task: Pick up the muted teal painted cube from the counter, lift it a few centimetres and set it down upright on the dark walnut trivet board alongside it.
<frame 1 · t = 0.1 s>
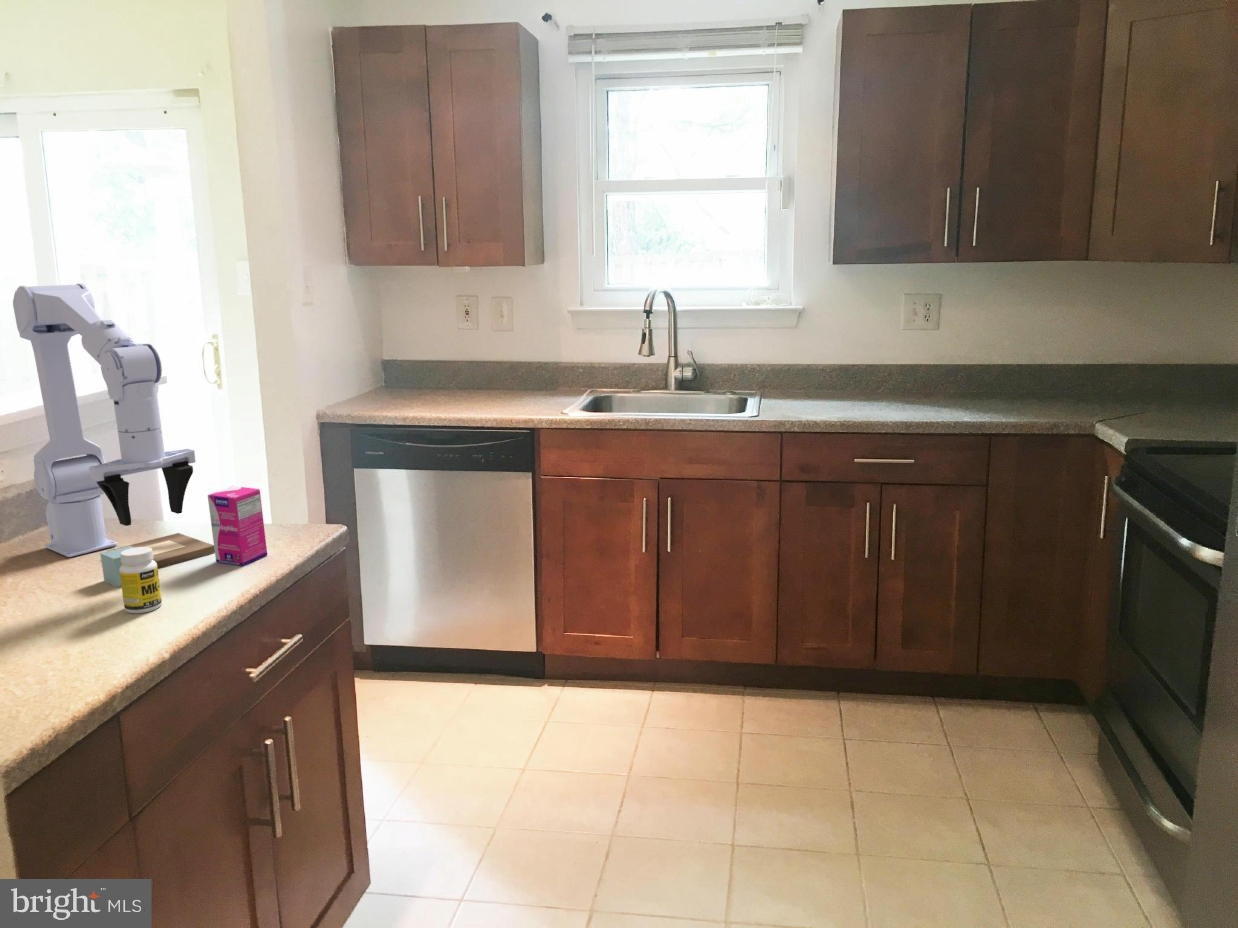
hand: (151, 518, 140), 10 cm above the countertop, tool pointing down, fingers open, 7 cm apart
supplement bottle: (144, 609, 132), on the countertop
walnut trivet: (161, 555, 155), on the countertop
teal cube: (126, 580, 144), on the countertop
supplement box: (242, 560, 152), on the countertop
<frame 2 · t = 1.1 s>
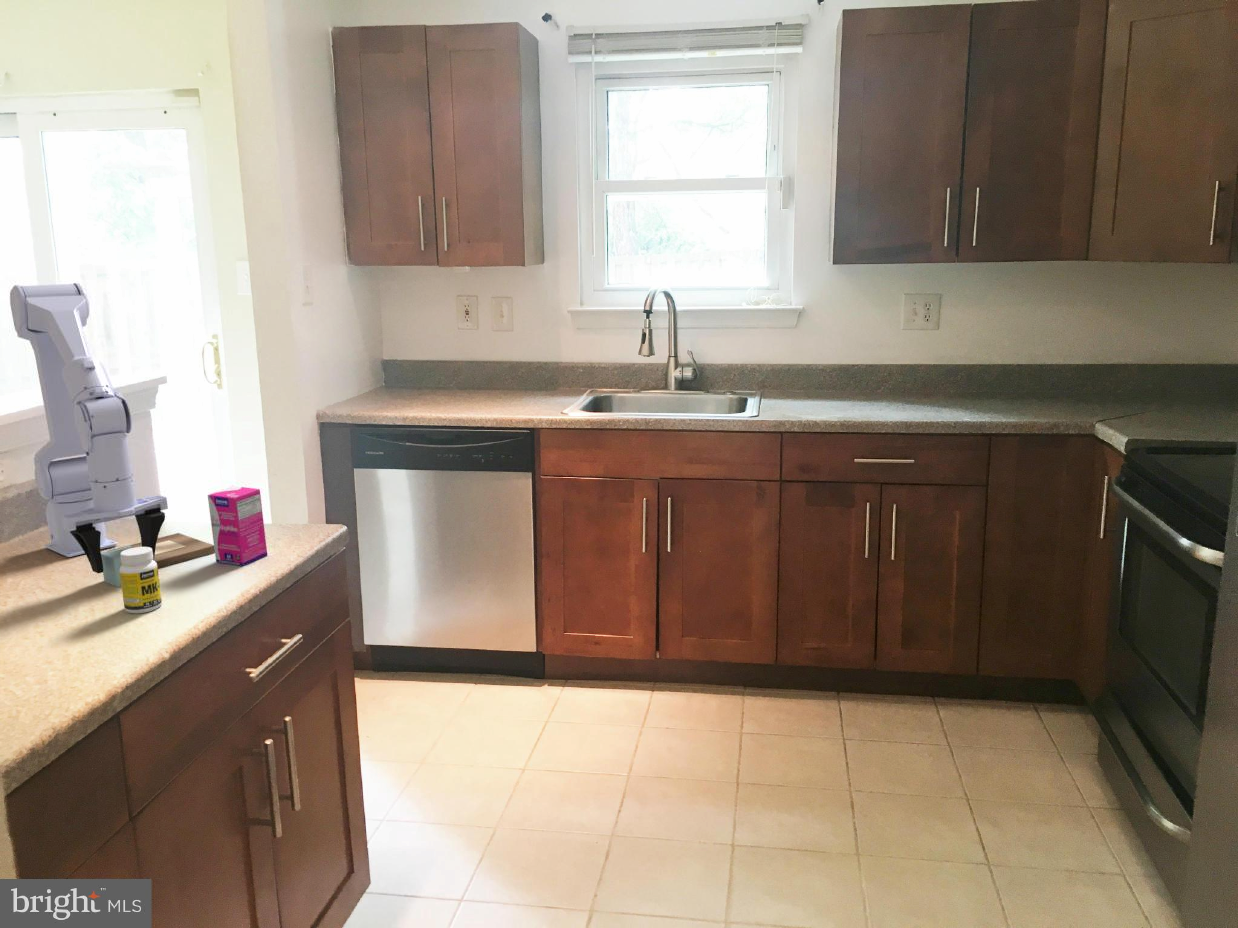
hand: (124, 564, 143), 2 cm above the countertop, tool pointing down, fingers open, 7 cm apart
nothing on the countertop moved.
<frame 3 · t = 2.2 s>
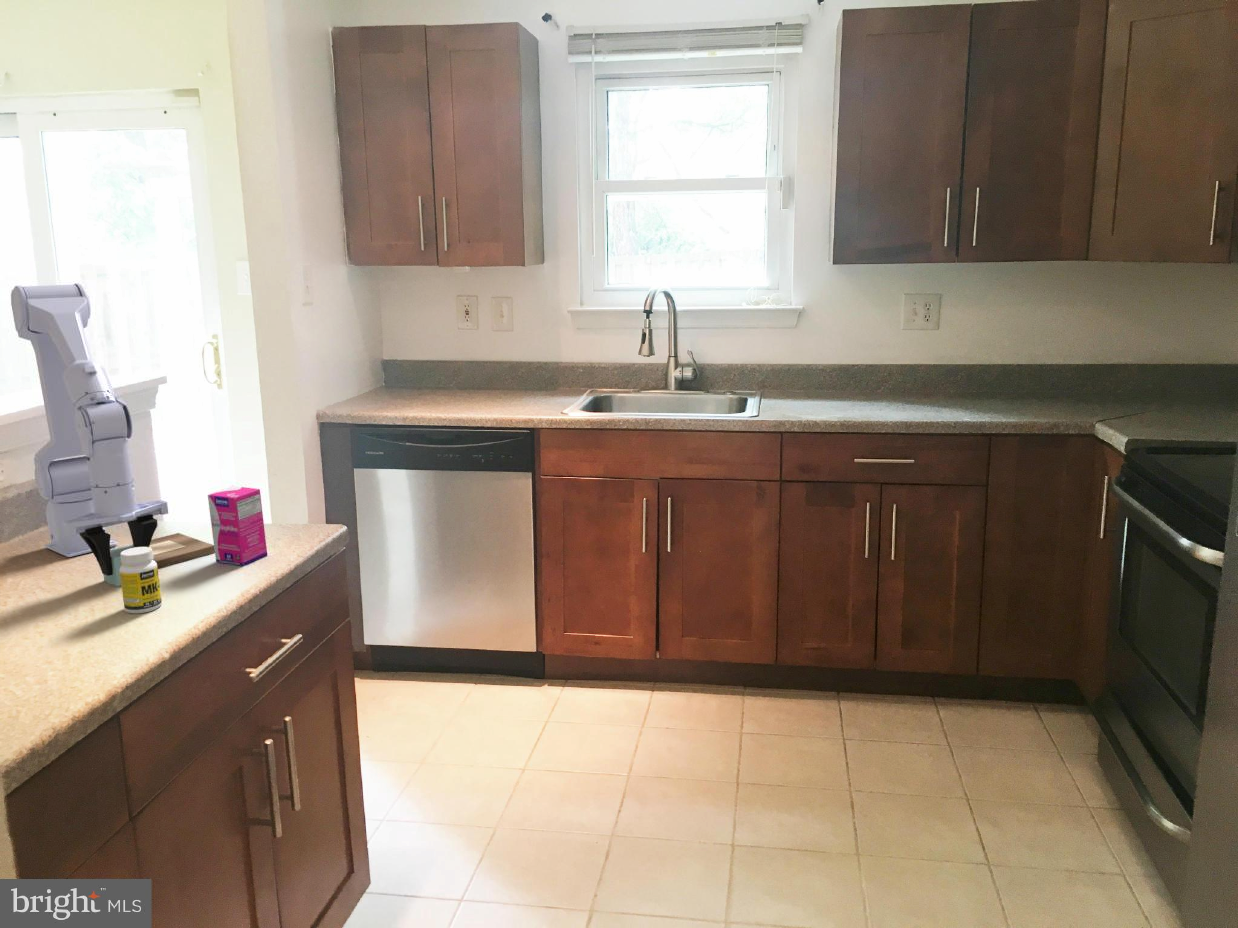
hand: (124, 569, 143), 2 cm above the countertop, tool pointing down, fingers closed on teal cube, 4 cm apart
teal cube: (126, 579, 144), on the countertop, touching gripper
everything else where it was.
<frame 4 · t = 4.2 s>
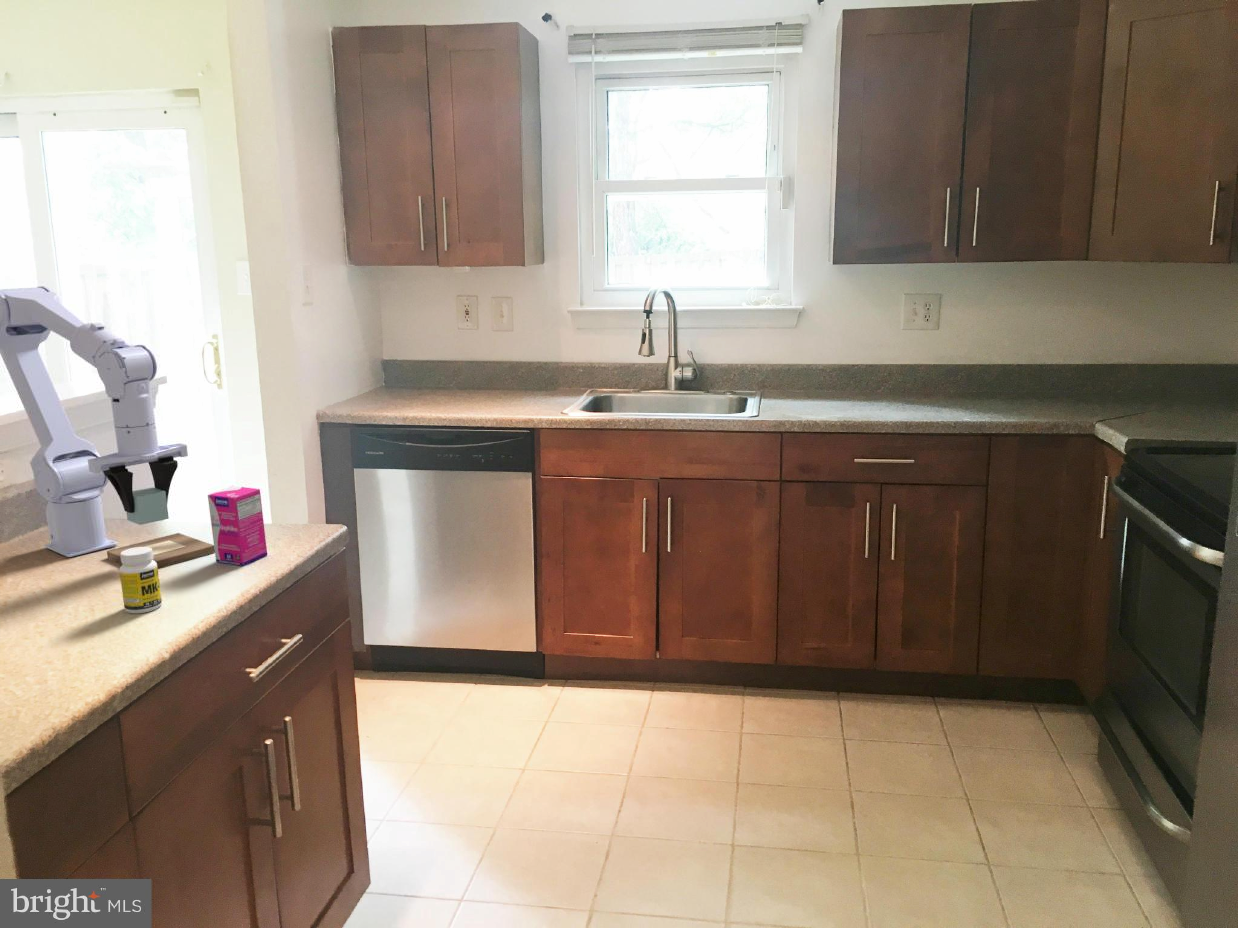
hand: (146, 508, 150), 9 cm above the countertop, tool pointing down, fingers closed on teal cube, 4 cm apart
teal cube: (148, 519, 150), point 7 cm above the countertop, touching gripper
everything else where it was.
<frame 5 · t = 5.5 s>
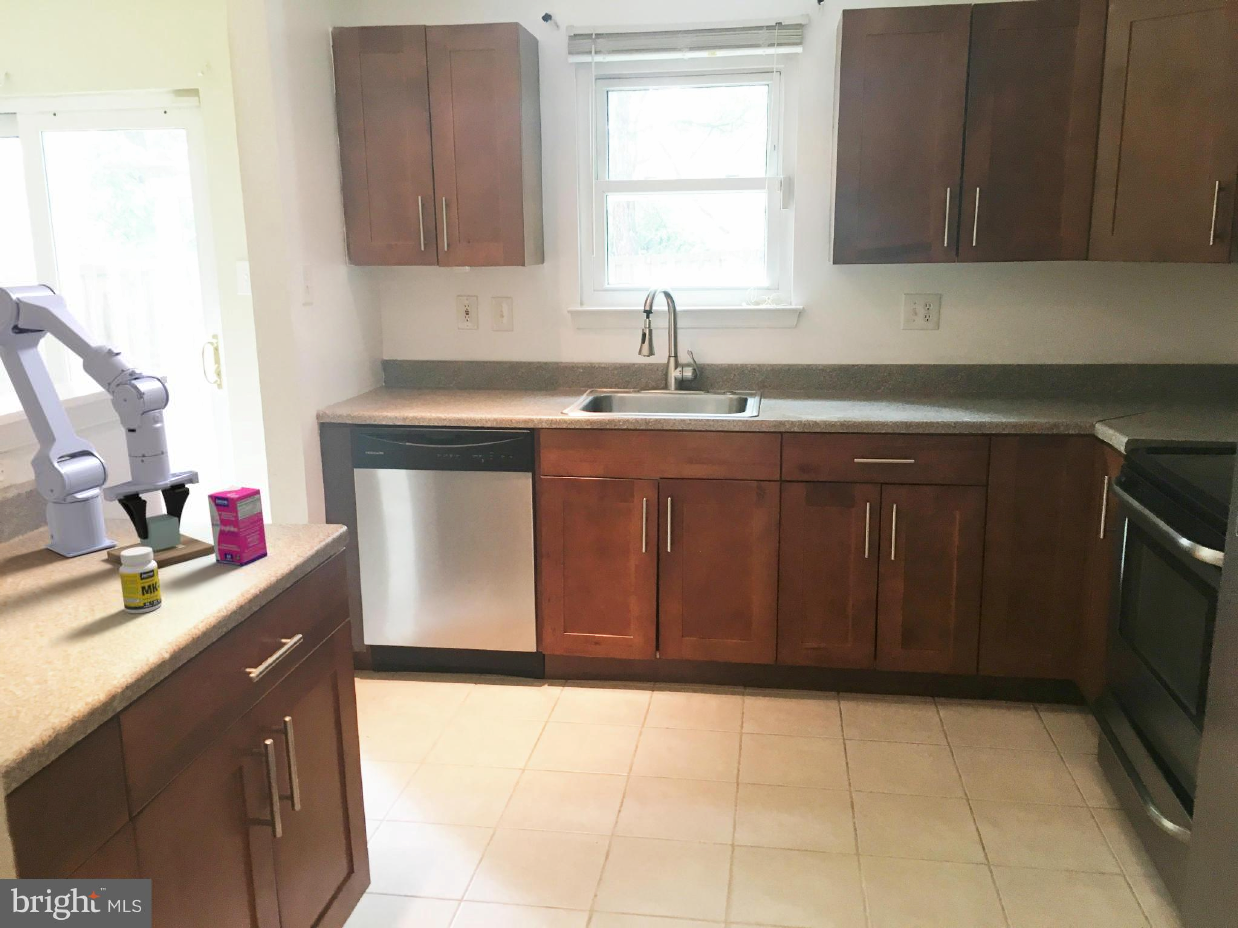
hand: (159, 534, 154), 4 cm above the countertop, tool pointing down, fingers closed on teal cube, 4 cm apart
teal cube: (161, 545, 154), point 2 cm above the countertop, touching gripper
everything else where it was.
when the fingers open (4 cm above the countertop, at t = 6.3 s): teal cube stays where it is, resting on walnut trivet.
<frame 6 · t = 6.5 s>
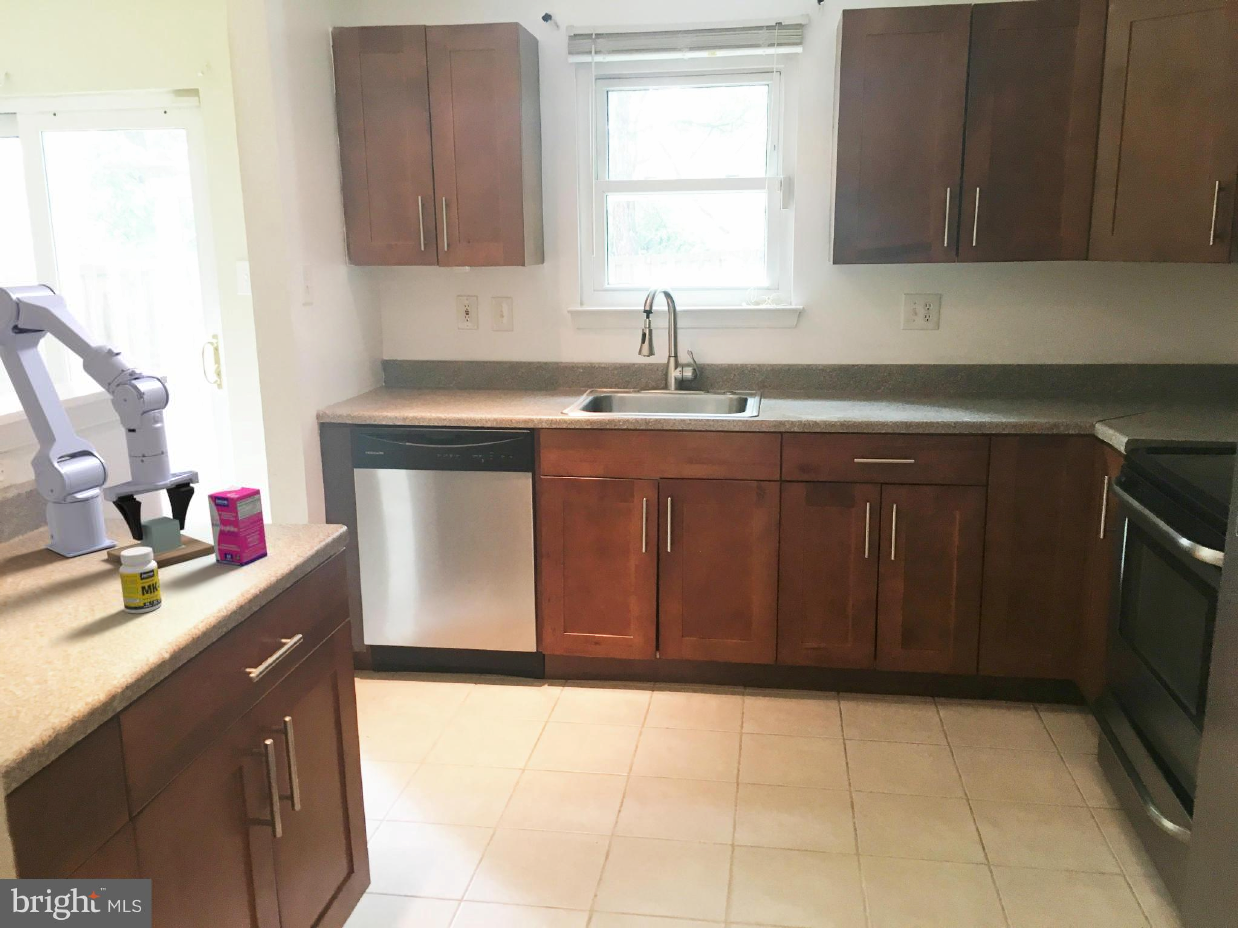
hand: (159, 534, 154), 4 cm above the countertop, tool pointing down, fingers open, 6 cm apart
teal cube: (161, 547, 154), point 1 cm above the countertop, touching walnut trivet
everything else where it was.
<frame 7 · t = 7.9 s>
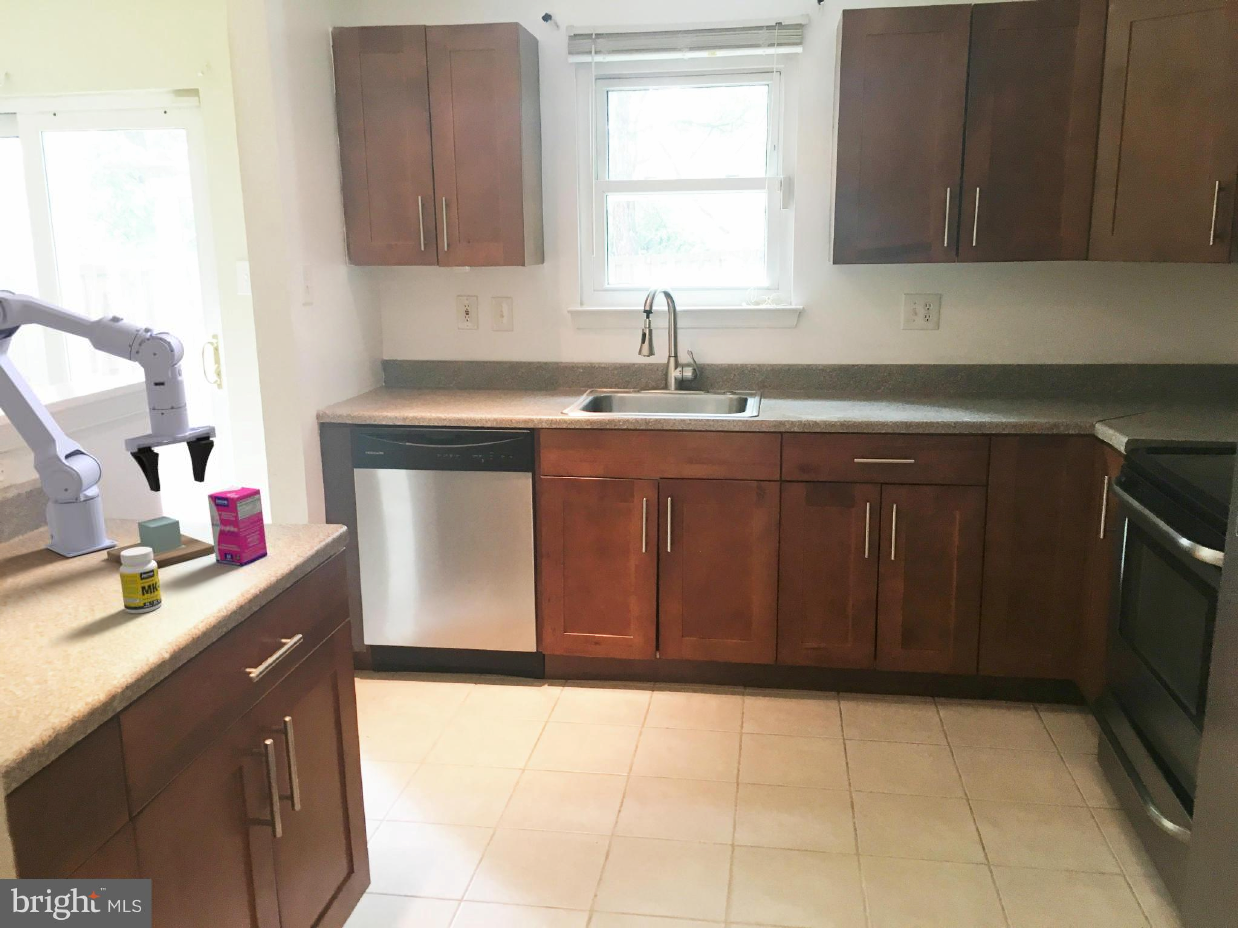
hand: (177, 485, 160), 10 cm above the countertop, tool pointing down, fingers open, 7 cm apart
nothing on the countertop moved.
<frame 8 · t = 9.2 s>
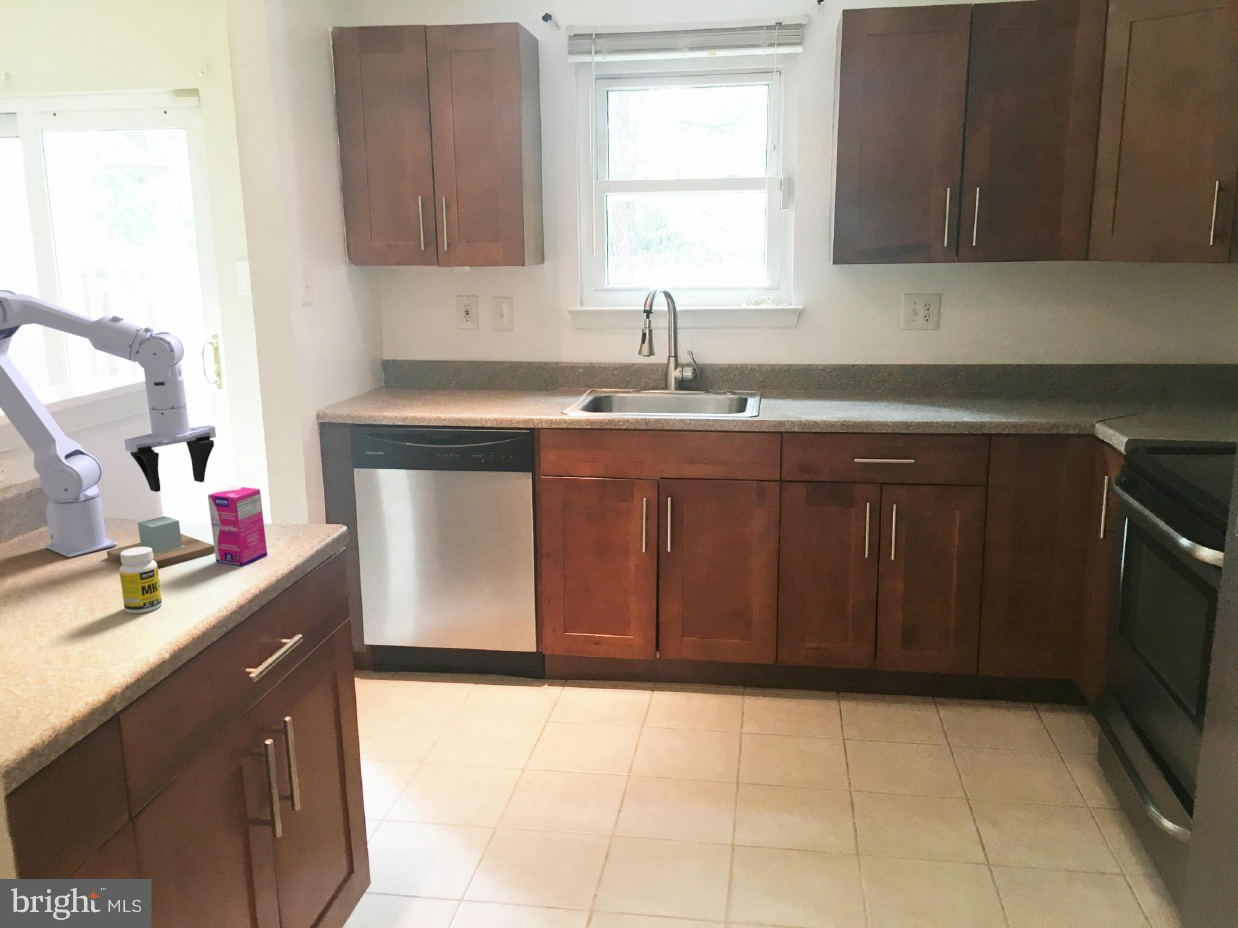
hand: (177, 485, 160), 10 cm above the countertop, tool pointing down, fingers open, 7 cm apart
nothing on the countertop moved.
at the end: teal cube inside the target area on the walnut trivet (0.2 cm from its centre), point 1.3 cm above the walnut trivet's base; teal cube tilted 0°; the gripper is holding nothing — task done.
